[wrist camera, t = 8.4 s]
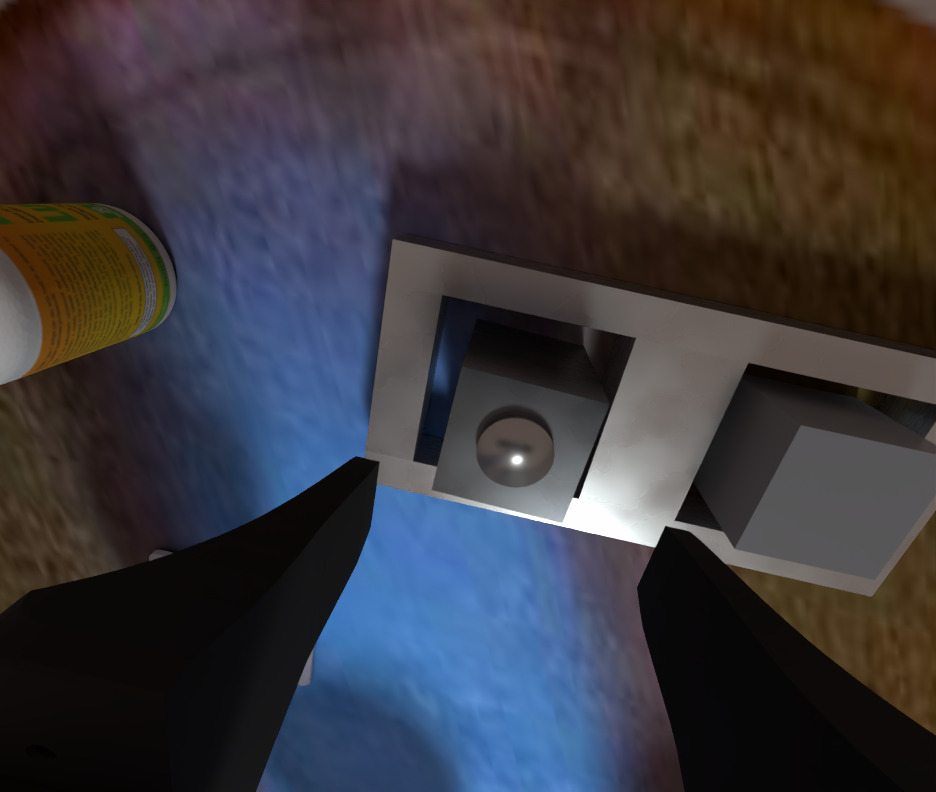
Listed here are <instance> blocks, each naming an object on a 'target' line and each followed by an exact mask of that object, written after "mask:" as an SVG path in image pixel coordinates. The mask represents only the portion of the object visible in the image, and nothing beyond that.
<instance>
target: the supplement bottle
mask: <svg viewBox="0 0 936 792" xmlns="http://www.w3.org/2000/svg"><path fill="white" fill-rule="evenodd" d="M176 292H177V284H176V276H175V272H174V268H173V265H172V262H171V260H170V258H169V255H168V253H167V251H166V250H165V248H164V246H163V245H162V243H161V242H160V240H159V239H158V238H157V237H156V235H155V234H154V233H153V232H152V231H151V230H150V229H149V228H148V227H147V226H146V225H145V224H144V223H143V222H141V221H140V220H139V219H137V218H136V217H134V216H133V215H131V214H130V213H128V212H126V211H124V210H122V209H119V208H116V207H113V206H110V205H105V204H98V203H55V204H0V385H1V384H4V383H7V382H10V381H13V380H16V379H19V378H22V377H25V376H28V375H30V374H33V373H36V372H38V371H41V370H44V369H47V368H49V367H52V366H55V365H58V364H60V363H63V362H66V361H69V360H71V359H74V358H77V357H80V356H83V355H85V354H88V353H91V352H94V351H96V350H99V349H102V348H105V347H108V346H110V345H113V344H116V343H119V342H122V341H125V340H127V339H130V338H133V337H136V336H138V335H141V334H143V333H146V332H149V331H151V330H153V329H154V328H156V327H158V326H159V325H160V324H161V323H162V322H163V321H164V320H165V319H166V318H167V317H168V315H169V314H170V312H171V310H172V308H173V306H174V303H175V299H176Z"/></svg>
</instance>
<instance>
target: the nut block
mask: <svg viewBox="0 0 936 792" xmlns="http://www.w3.org/2000/svg"><path fill="white" fill-rule="evenodd" d="M608 407H609V402H608V400H607V397H606V395H605V393H604V391H603V388H602V386H601V384H600V382H599V379H598V377H597V375H596V373H595V370H594V368H593V366H592V364H591V361H590V359H589V357H588V355H587V352H586V350H585V348H584V346H582V345H578V344H574V343H570V342H566V341H562V340H559V339H555V338H551V337H547V336H543V335H539V334H535V333H531V332H527V331H524V330H520V329H516V328H512V327H508V326H504V325H500V324H496V323H492V322H489V321H485V320H481V319H477V322H476V325H475V328H474V331H473V334H472V337H471V340H470V343H469V346H468V349H467V352H466V355H465V358H464V361H463V364H462V367H461V371H460V375H459V380H458V384H457V388H456V392H455V396H454V400H453V404H452V408H451V412H450V416H449V420H448V425H447V429H446V433H445V437H444V441H443V445H442V449H441V453H440V457H439V461H438V465H437V469H436V474H435V478H434V482H433V486H432V490H434V491H437V492H441V493H445V494H449V495H453V496H457V497H461V498H465V499H469V500H473V501H476V502H480V503H484V504H488V505H492V506H496V507H500V508H504V509H508V510H512V511H516V512H519V513H523V514H527V515H531V516H535V517H539V518H543V519H547V520H551V521H555V522H558V523H562V524H563V521H564V518H565V516H566V513H567V511H568V508H569V506H570V503H571V501H572V498H573V496H574V493H575V491H576V488H577V486H578V483H579V480H580V478H581V475H582V473H583V470H584V468H585V465H586V463H587V460H588V458H589V455H590V453H591V450H592V448H593V445H594V442H595V440H596V437H597V435H598V432H599V430H600V427H601V425H602V422H603V420H604V417H605V415H606V412H607V410H608Z"/></svg>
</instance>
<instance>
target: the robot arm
mask: <svg viewBox="0 0 936 792" xmlns="http://www.w3.org/2000/svg"><path fill="white" fill-rule="evenodd" d="M379 464H380V462H379V461H375V460H370V459H366V458H361V457H357V456H356V457H354V458H352V459H351V460H349V461H348V462H346V463H345V464H343V465H342V466H341V467H339V468H338V469H336V470H335V471H333V472H332V473H331V474H329V475H328V476H326V477H325V478H323V479H322V480H320V481H319V482H317V483H316V484H314V485H313V486H311V487H310V488H308V489H307V490H305V491H303V492H302V493H300V494H299V495H297V496H296V497H294V498H292V499H291V500H289V501H287V502H285V503H284V504H282V505H280V506H278V507H277V508H275V509H273V510H271V511H270V512H268V513H266V514H264V515H262V516H260V517H259V518H257V519H255V520H253V521H251V522H249V523H246V524H244V525H242V526H240V527H238V528H235V529H233V530H231V531H229V532H227V533H224V534H222V535H220V536H217V537H215V538H212V539H209V540H207V541H204V542H201V543H199V544H196V545H194V546H191V547H188V548H186V549H183V550H180V551H178V552H175V553H172V552H168V551H164V550H155V551H154V552H153V553H152V554H151V555H150V556H149V561H148V562H144V563H141V564H137V565H134V566H131V567H127V568H124V569H120V570H117V571H113V572H109V573H105V574H102V575H97V576H93V577H89V578H85V579H80V580H76V581H72V582H68V583H63V584H59V585H55V586H51V587H46V588H41V589H36V590H32V591H30V592H28V593H27V594H26V595H24V596H23V597H22V598H20V599H19V600H18V601H17V602H15V603H14V604H13V605H11V606H10V607H9V608H8V609H6V610H5V611H4V612H3V613H1V614H0V792H256V790H257V787H258V785H259V782H260V779H261V777H262V774H263V771H264V769H265V766H266V763H267V761H268V758H269V756H270V753H271V750H272V748H273V745H274V743H275V740H276V738H277V735H278V733H279V730H280V728H281V725H282V722H283V720H284V717H285V715H286V712H287V710H288V707H289V705H290V702H291V700H292V697H293V695H294V692H295V690H296V687H297V685H300V686H307V685H309V683H310V681H311V679H312V673H313V662H314V652H315V644H316V642H317V640H318V638H319V636H320V634H321V632H322V630H323V628H324V626H325V624H326V622H327V620H328V619H329V617H330V615H331V613H332V611H333V609H334V607H335V605H336V603H337V601H338V599H339V597H340V595H341V593H342V592H343V590H344V588H345V586H346V584H347V582H348V580H349V578H350V576H351V574H352V572H353V570H354V568H355V566H356V564H357V562H358V559H359V557H360V554H361V552H362V549H363V546H364V544H365V541H366V538H367V535H368V533H369V530H370V527H371V520H372V513H373V506H374V499H375V492H376V485H377V478H378V471H379ZM637 590H638V598H639V606H640V613H641V619H642V625H643V630H644V633H645V637H646V641H647V644H648V648H649V651H650V655H651V659H652V662H653V665H654V669H655V672H656V676H657V679H658V683H659V686H660V689H661V693H662V696H663V700H664V703H665V707H666V710H667V713H668V717H669V720H670V724H671V728H672V732H673V736H674V740H675V744H676V748H677V753H678V758H679V763H680V768H681V773H682V779H683V784H684V789H685V792H936V735H934V734H933V733H931V732H930V731H928V730H927V729H925V728H924V727H922V726H921V725H919V724H918V723H916V722H915V721H914V720H912V719H911V718H909V717H908V716H906V715H905V714H904V713H902V712H901V711H899V710H898V709H897V708H895V707H894V706H892V705H891V704H889V703H888V702H887V701H885V700H884V699H882V698H881V697H880V696H878V695H877V694H875V693H874V692H873V691H871V690H870V689H869V688H867V687H866V686H865V685H863V684H862V683H861V682H859V681H858V680H857V679H855V678H854V677H853V676H852V675H850V674H849V673H848V672H847V671H845V670H844V669H843V668H841V667H840V666H839V665H838V664H836V663H835V662H834V661H833V660H831V659H830V658H829V657H828V656H826V655H825V654H824V653H822V652H821V651H820V650H819V649H818V648H816V647H815V646H814V645H813V644H812V643H810V642H809V641H808V640H807V639H806V638H805V637H803V636H802V635H801V634H800V633H799V632H798V631H797V630H796V629H794V628H793V627H792V626H791V625H790V624H789V623H788V622H786V621H785V620H784V619H783V618H782V617H781V616H780V615H779V614H777V613H776V612H775V611H774V610H773V609H772V608H771V607H770V606H769V605H768V604H767V603H766V602H764V601H763V600H762V599H761V598H760V597H759V596H758V595H757V594H756V593H755V592H754V591H753V590H752V589H751V588H750V587H749V586H748V585H747V584H746V583H744V582H743V581H742V580H741V579H740V578H739V577H738V576H737V575H736V574H735V573H734V572H733V571H732V570H731V569H730V568H729V567H728V566H727V565H726V564H725V563H724V562H723V561H722V560H721V559H720V558H719V557H718V556H717V555H716V554H715V553H714V552H712V551H711V550H710V549H709V548H708V547H707V546H706V545H705V544H704V543H703V542H702V541H701V540H700V539H698V538H697V537H696V536H695V535H694V534H692V533H691V532H690V531H686V530H682V529H677V528H673V527H668V526H665V528H664V530H663V532H662V534H661V536H660V538H659V541H658V543H657V545H656V547H655V549H654V552H653V554H652V556H651V558H650V560H649V563H648V565H647V567H646V569H645V571H644V573H643V576H642V578H641V580H640V582H639V584H638V587H637Z"/></svg>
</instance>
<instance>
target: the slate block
mask: <svg viewBox="0 0 936 792" xmlns="http://www.w3.org/2000/svg"><path fill="white" fill-rule="evenodd" d="M693 482H694V484H695V486H696V487H697V489H698V491H699V492H700V494H701V495H702V497H703V499H704V500H705V502H706V504H707V505H708V507H709V509H710V510H711V512H712V513H713V515H714V517H715V518H716V520H717V522H718V523H719V525H720V526H721V528H722V530H723V531H724V533H725V535H726V536H727V538H728V539H729V541H730V543H731V544H732V546H733V548H734V549H736V550H741V551H745V552H750V553H754V554H759V555H763V556H768V557H772V558H777V559H782V560H786V561H791V562H795V563H800V564H804V565H809V566H813V567H818V568H822V569H827V570H831V571H836V572H841V573H845V574H850V575H854V576H859V577H863V578H868V579H872V580H875V579H876V578H877V576H878V575H879V574H880V572H881V571H882V569H883V568H884V567H885V565H886V564H887V562H888V561H889V560H890V558H891V557H892V555H893V554H894V553H895V551H896V550H897V548H898V547H899V546H900V544H901V543H902V541H903V540H904V539H905V537H906V536H907V534H908V533H909V532H910V530H911V529H912V528H913V526H914V525H915V523H916V522H917V521H918V519H919V518H920V516H921V515H922V514H923V512H924V511H925V509H926V508H927V507H928V505H929V504H930V502H931V501H932V500H933V498H934V497H935V495H936V445H935V444H933V443H932V442H930V441H928V440H927V439H925V438H923V437H922V436H920V435H918V434H917V433H915V432H913V431H911V430H910V429H908V428H906V427H905V426H903V425H901V424H900V423H898V422H896V421H895V420H893V419H891V418H889V417H888V416H886V415H884V414H883V413H881V412H879V411H878V410H876V409H874V408H873V407H871V406H869V405H868V404H866V403H864V402H862V401H861V400H859V399H857V398H854V397H850V396H845V395H840V394H836V393H831V392H827V391H822V390H817V389H813V388H808V387H803V386H799V385H794V384H789V383H785V382H780V381H775V380H771V379H766V378H761V377H757V376H752V375H747V374H743V375H742V377H741V379H740V382H739V384H738V386H737V388H736V390H735V392H734V394H733V397H732V399H731V401H730V403H729V405H728V407H727V409H726V411H725V414H724V416H723V418H722V420H721V422H720V424H719V426H718V429H717V431H716V433H715V435H714V437H713V439H712V441H711V444H710V446H709V448H708V450H707V452H706V454H705V456H704V458H703V461H702V463H701V465H700V467H699V469H698V471H697V473H696V476H695V478H694V480H693Z"/></svg>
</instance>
